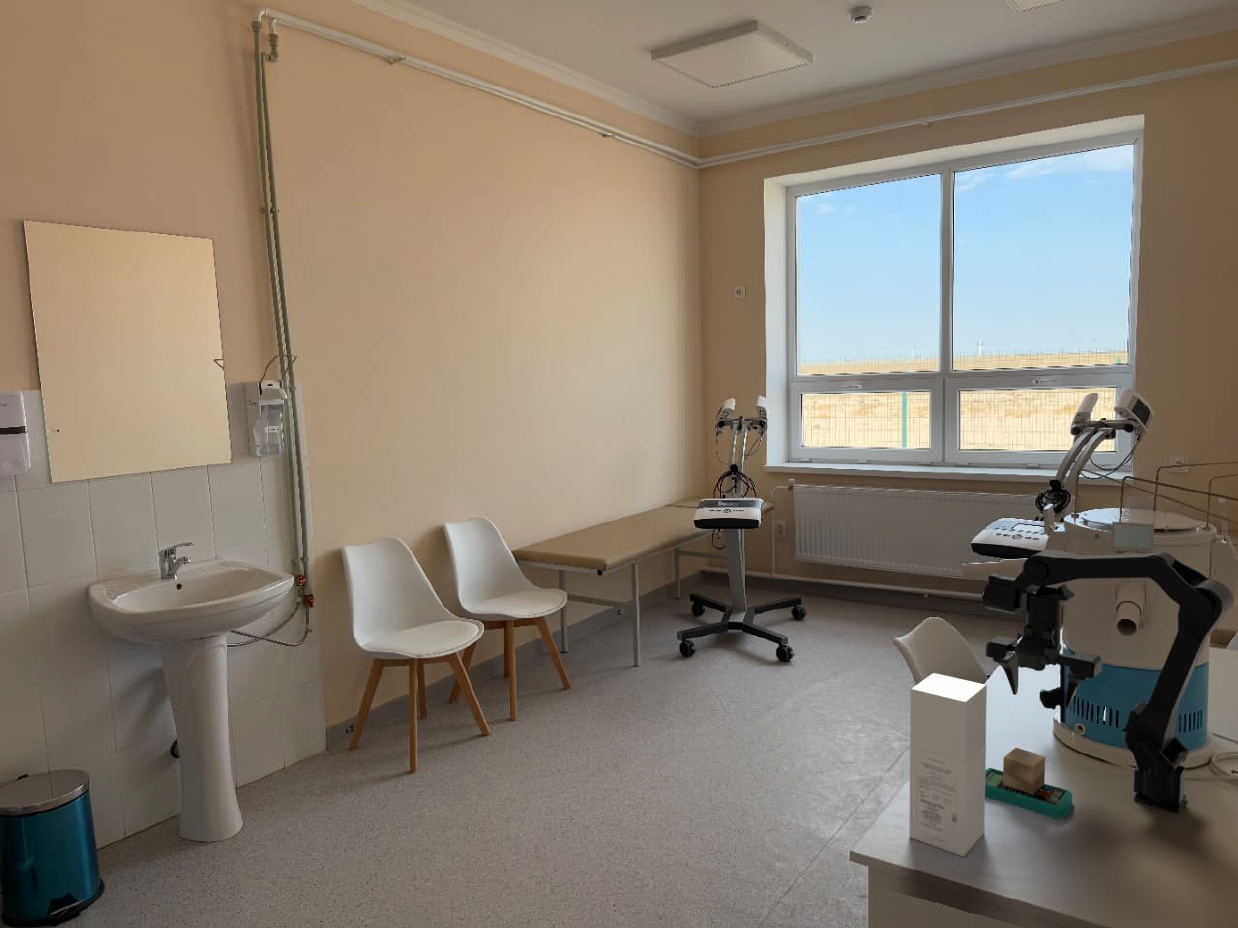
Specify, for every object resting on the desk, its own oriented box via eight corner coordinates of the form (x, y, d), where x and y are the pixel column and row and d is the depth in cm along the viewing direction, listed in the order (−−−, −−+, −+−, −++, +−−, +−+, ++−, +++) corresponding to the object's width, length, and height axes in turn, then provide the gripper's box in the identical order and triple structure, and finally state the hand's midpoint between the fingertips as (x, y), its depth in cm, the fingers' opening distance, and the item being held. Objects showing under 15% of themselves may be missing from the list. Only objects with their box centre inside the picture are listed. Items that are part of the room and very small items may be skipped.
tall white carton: (984, 833, 139) (987, 684, 136) (963, 857, 132) (966, 702, 129) (931, 814, 145) (932, 672, 142) (908, 837, 138) (909, 688, 135)
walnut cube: (1044, 783, 149) (1045, 756, 148) (1032, 794, 145) (1033, 766, 145) (1015, 774, 152) (1015, 747, 152) (1002, 784, 149) (1003, 757, 148)
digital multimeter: (1063, 824, 141) (1063, 807, 141) (971, 795, 151) (971, 779, 151) (1076, 806, 147) (1076, 789, 146) (986, 779, 157) (986, 764, 156)
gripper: (975, 620, 159) (973, 701, 161) (1086, 640, 146) (1083, 728, 148) (997, 606, 167) (995, 683, 169) (1104, 624, 154) (1101, 707, 156)
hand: (1041, 700), depth 160 cm, fingers open, 9 cm apart
